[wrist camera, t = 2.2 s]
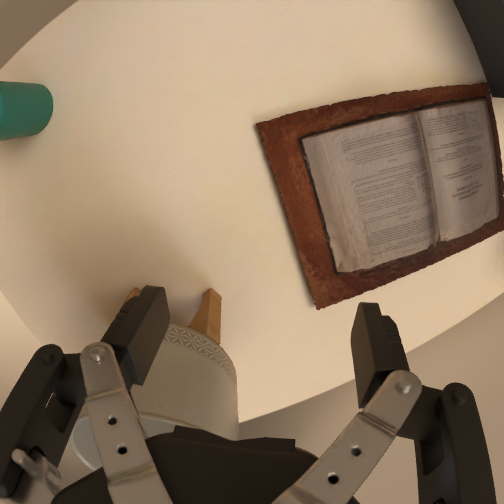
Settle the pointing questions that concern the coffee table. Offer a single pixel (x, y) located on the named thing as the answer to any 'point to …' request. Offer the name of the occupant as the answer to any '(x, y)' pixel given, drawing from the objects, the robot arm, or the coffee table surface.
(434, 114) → the book
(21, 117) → the plastic bottle
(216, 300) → the planter
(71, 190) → the coffee table surface
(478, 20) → the open storage box
